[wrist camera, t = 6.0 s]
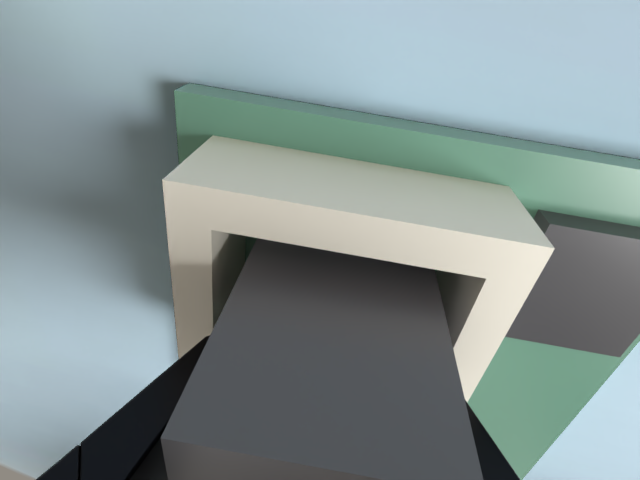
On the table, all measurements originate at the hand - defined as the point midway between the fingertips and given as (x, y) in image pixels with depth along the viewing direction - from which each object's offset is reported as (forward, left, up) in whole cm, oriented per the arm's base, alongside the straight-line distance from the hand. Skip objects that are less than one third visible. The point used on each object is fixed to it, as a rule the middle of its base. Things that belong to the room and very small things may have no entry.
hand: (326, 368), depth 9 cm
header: (0, 0, -4) cm, 4 cm away
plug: (0, 0, -2) cm, 2 cm away
